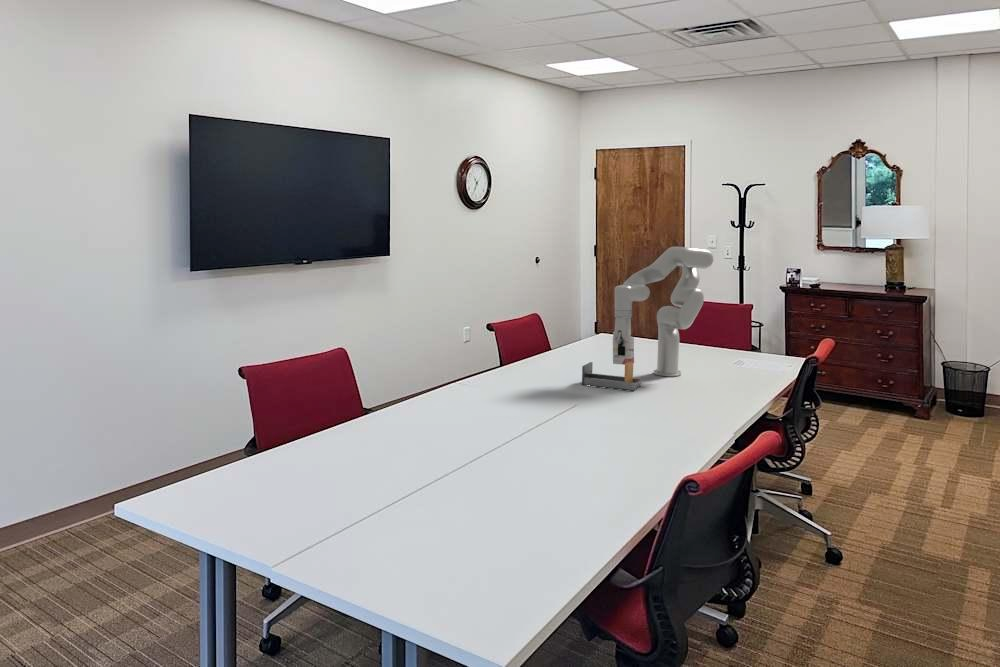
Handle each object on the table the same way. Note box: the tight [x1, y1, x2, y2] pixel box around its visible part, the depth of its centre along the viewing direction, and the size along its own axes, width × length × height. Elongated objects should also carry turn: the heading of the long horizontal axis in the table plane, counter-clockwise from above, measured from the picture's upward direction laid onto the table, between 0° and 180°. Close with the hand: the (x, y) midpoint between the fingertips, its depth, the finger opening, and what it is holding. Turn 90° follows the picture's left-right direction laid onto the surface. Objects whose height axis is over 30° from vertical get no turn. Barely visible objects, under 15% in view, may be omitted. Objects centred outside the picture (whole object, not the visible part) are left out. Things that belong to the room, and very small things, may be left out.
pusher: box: [624, 362, 634, 383], centre depth 318 cm, size 7×2×10 cm, turn 153°
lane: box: [581, 361, 641, 392], centre depth 321 cm, size 10×23×8 cm, turn 63°
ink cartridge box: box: [612, 331, 635, 366], centre depth 330 cm, size 9×5×15 cm, turn 62°
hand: (623, 353), depth 331 cm, fingers closed on ink cartridge box, 5 cm apart
